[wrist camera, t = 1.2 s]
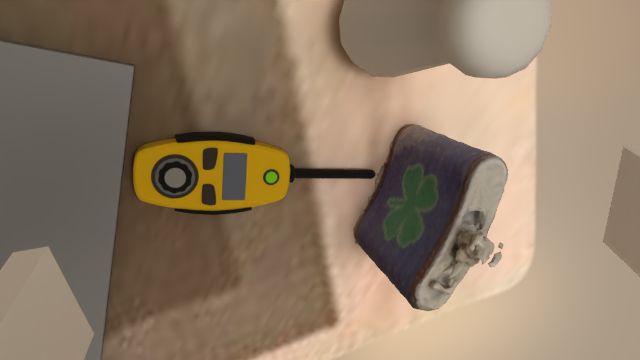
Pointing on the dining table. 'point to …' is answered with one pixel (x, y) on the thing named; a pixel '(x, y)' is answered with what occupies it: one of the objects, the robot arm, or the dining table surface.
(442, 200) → the flask
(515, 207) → the dining table surface
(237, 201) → the yellow walkie-talkie
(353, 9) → the salt shaker
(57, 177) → the plate
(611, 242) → the robot arm
